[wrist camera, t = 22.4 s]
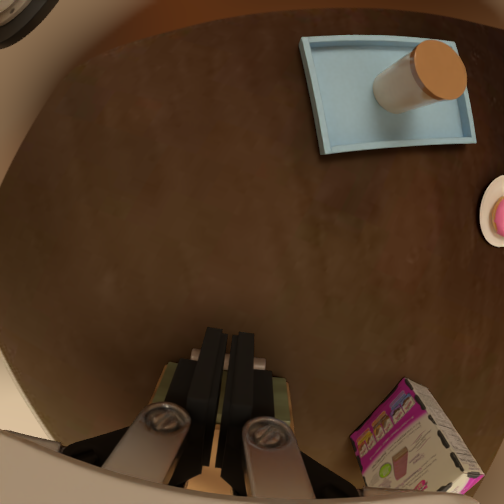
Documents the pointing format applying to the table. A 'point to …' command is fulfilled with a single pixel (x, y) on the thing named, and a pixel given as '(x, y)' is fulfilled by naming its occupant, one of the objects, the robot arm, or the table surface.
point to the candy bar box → (413, 445)
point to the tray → (373, 97)
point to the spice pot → (421, 78)
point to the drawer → (259, 363)
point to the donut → (493, 213)
